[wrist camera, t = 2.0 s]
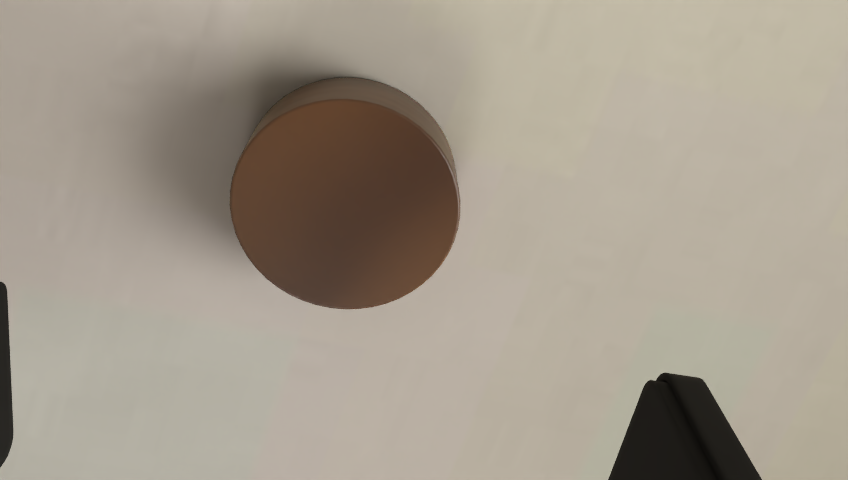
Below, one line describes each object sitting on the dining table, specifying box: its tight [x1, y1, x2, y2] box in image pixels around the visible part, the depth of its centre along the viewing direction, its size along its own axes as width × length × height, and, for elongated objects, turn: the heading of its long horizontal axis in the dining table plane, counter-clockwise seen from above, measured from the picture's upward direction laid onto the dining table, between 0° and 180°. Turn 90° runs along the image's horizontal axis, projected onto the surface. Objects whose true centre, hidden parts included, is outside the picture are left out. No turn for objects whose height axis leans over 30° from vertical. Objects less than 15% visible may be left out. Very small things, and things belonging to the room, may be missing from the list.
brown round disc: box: [230, 78, 460, 309], centre depth 18 cm, size 5×5×2 cm
